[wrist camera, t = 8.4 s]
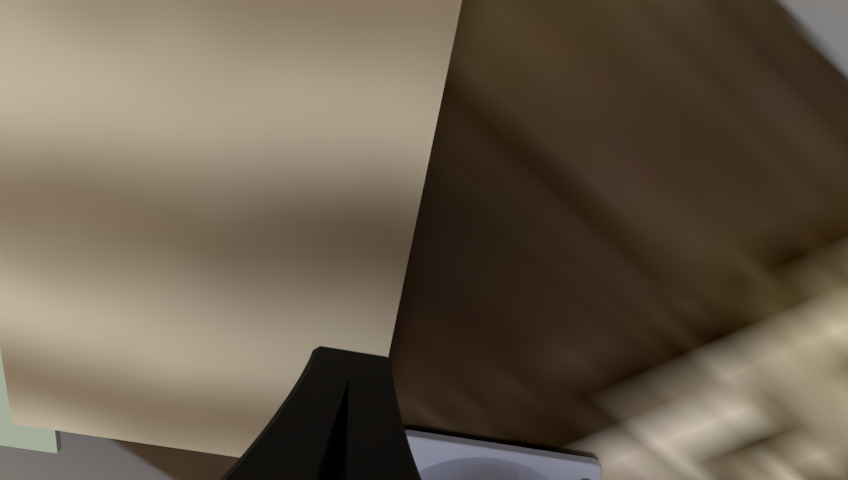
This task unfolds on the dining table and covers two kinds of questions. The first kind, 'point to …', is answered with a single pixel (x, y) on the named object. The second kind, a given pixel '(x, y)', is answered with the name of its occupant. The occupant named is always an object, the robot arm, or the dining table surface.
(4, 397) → the mat
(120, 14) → the deck
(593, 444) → the dining table surface
